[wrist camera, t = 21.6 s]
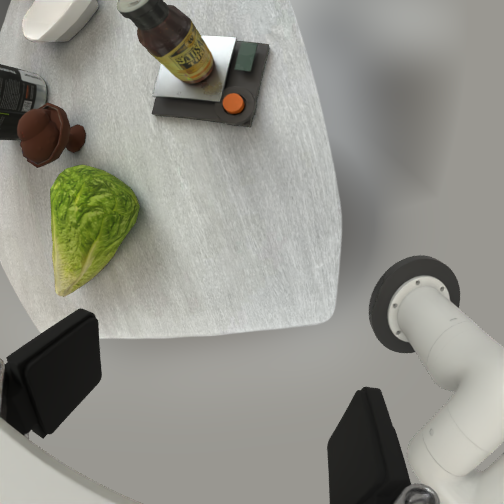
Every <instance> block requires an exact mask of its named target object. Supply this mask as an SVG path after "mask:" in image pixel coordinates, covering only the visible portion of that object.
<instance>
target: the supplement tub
mask: <svg viewBox="0 0 504 504" xmlns="http://www.w3.org/2000/svg"><path fill="white" fill-rule="evenodd" d="M46 96H47V90H46V85H45V82H44V80H43V79H42V77H41V76H39V75H37V74H35V73H31V72H28V71H24V70H21V69H17V68H13V67H9V66H5V65H1V64H0V140H21V139H19V137H18V134H17V126H18V122H19V120H20V119H21V117H22V116H23V115H24V114H25V113H26V112H28V111H29V110H32V109H38V108H40V107H41V106H43V105H45V103H46Z"/></svg>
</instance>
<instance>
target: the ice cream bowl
mask: <svg viewBox="0 0 504 504" xmlns="http://www.w3.org/2000/svg"><path fill="white" fill-rule="evenodd" d="M17 134H18V137H19V139H21V143H20V145H21V148H22V153H23V156H24V157H25V158H27V161H28V162H29V163H31V164H32V165H34V166H35V167H37V168H38V167H42V166H44V165H46V164H48V163H51V162H53V161H55V160H56V159H58V158H59V157H60V155H61V154H62V152H63V150H64V149H65V147H66V149H67V150H69V151H71V152H73V153H74V152H77V151H79V150H80V149H81V148H82V146H83V145H84V143H85V137H86V133H85V130H84V127H83V126H80V125H75V126H73V127H71V128H70V124H69V121H68V118H67V114H66V112H65V111H64V110H63V109H62V108H60V107H58V106H55V105H53V104H50V103H46V104H45V105H43V106H41V107H40V108H38V109H32V110H29V111H28V112H26V113H25V114H24V115H23V116H22V117H21V119H20V120H19V122H18V126H17Z"/></svg>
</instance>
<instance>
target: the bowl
mask: <svg viewBox="0 0 504 504" xmlns="http://www.w3.org/2000/svg"><path fill="white" fill-rule="evenodd" d="M97 9H98V3H97V0H35V1H34V3H33V4H32V5H31V7H30V8H29V10H28V11H27V13H26V15H25V16H24V18H23V20H22V30H23V33H24V36H25V38H27V39H28V40H30V41H31V42H60V41H64V42H67V41H69V40H70V39H71V38H72V37H74V36H75V35H76V34H77V33H78V32H79V31H80V30H81V29H82V28H83V27H84V26H85V25H86V23H87V22H88V21H89V20H90V18H91V17H92V16H93V14H94V13H95V12H96V10H97Z"/></svg>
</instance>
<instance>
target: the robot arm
mask: <svg viewBox="0 0 504 504" xmlns="http://www.w3.org/2000/svg"><path fill="white" fill-rule="evenodd" d="M416 281H417V282H416ZM393 304H394V305H393ZM387 319H388V324H389V327H390V329H391V331H392V332H393V334H394V335H395V336H396V337H397V338H399V339H400V340H403V341H405V342H409V343H410V344H411V346H412V347H413V349H414V350H415V352H416V354H417V355H418V357H419V358H420V360H421V362H422V363H423V365H424V367H425V368H426V370H427V372H428V373H429V375H430V376H431V378H432V380H433V381H434V382H435V383H436V384H437V385H438V386H439V387H441V388H443V389H445V390H449V391H455V393H454V394H453V395H452V396H451V397H450V399H449V400H448V401H447V403H446V404H445V405H444V406H443V407H442V408H441V409H440V410H439V411H438V412H437V413H436V414H435V415H434V416H433V418H431V419H430V420H429V421H428V422H427V423H426V424H425V425H424V426H423V427H422V428H421V429H420V430H419V431H418V433H416V434H415V436H414V437H413V438H412V439H411V441H410V443H409V445H408V448H407V458H408V462H409V465H410V467H411V469H412V470H413V472H414V474H415V475H416V477H417V478H418V479H419V481H420V482H421V483H422V484H412V485H411V483H410V479H409V475H408V471H407V468H406V464H405V461H404V458H403V454H402V451H401V447H400V444H399V441H398V438H397V434H396V431H395V429H394V427H393V426H392V422H391V419H390V417H389V413H388V410H387V407H386V404H385V401H384V398H383V395H382V392H381V390H380V389H378V388H370V387H363V388H362V390H358V391H357V392H356V393H355V395H354V397H353V399H352V401H351V403H350V404H349V406H348V408H347V410H346V412H345V413H344V415H343V417H342V419H341V420H340V422H339V424H338V426H337V427H336V429H335V431H334V432H333V434H332V436H331V438H330V439H329V442H328V446H327V450H328V468H329V493H330V504H504V453H503V454H502V455H501V456H500V457H499V458H498V459H497V460H496V461H495V462H493V464H491V465H490V466H489V467H488V468H487V469H485V470H484V471H478V470H476V469H474V468H475V467H477V466H478V465H479V464H480V463H481V462H482V461H483V460H485V459H486V458H487V457H488V456H489V455H490V454H491V453H492V452H493V451H495V450H496V449H497V448H498V447H499V446H500V444H502V443H503V442H504V347H503V346H502V345H501V344H499V343H498V342H496V341H495V340H494V339H492V338H491V337H490V336H489V335H488V334H487V333H486V332H484V331H483V330H482V329H481V328H480V327H479V326H478V325H477V324H476V323H474V322H473V321H472V320H471V319H470V318H469V317H468V316H467V315H466V314H464V313H463V312H462V311H461V310H460V309H459V308H458V307H457V306H455V305H454V304H453V303H452V302H451V301H450V297H449V293H448V290H447V288H446V287H445V285H444V284H443V283H442V282H441V281H440V280H438V279H436V278H435V277H432V276H424V275H423V276H417V277H414V278H412V279H410V280H408V281H407V282H405V283H404V284H403V285H402V286H400V287H399V289H398V290H397V291H396V292H395V294H394V295H393V297H392V299H391V301H390V303H389V307H388V312H387ZM7 361H8V363H6V364H4V362H3V361H2V360H1V359H0V504H143V503H140V502H138V501H135V500H133V499H130V498H128V497H126V496H124V495H122V494H119V493H117V492H115V491H113V490H111V489H109V488H107V487H105V486H103V485H101V484H99V483H97V482H95V481H93V480H92V479H90V478H88V477H86V476H84V475H82V474H81V473H79V472H77V471H75V470H73V469H72V468H70V467H69V466H67V465H66V464H64V463H62V462H61V461H59V460H57V459H56V458H55V457H53V456H52V455H50V454H48V453H47V452H46V451H44V450H43V449H41V448H40V447H38V446H37V445H36V444H34V443H33V442H32V441H30V440H29V434H28V433H29V432H30V430H33V432H35V433H36V434H37V435H39V436H40V437H42V438H44V437H45V436H46V435H47V434H52V433H53V432H54V431H55V430H56V429H57V428H58V427H59V425H60V424H61V423H62V422H63V421H64V420H65V419H66V418H67V416H69V414H70V413H71V412H72V411H73V410H74V409H75V408H76V407H77V406H78V405H79V404H80V403H81V401H82V400H83V399H84V398H85V397H86V396H87V395H88V394H89V393H90V392H91V391H92V390H93V389H94V387H95V386H96V385H97V384H98V383H99V382H100V380H101V376H102V372H101V361H100V348H99V328H98V320H97V319H96V317H95V315H94V314H93V313H91V312H89V311H86V310H84V309H81V308H80V309H78V310H76V311H75V312H73V313H72V314H70V315H69V316H67V317H66V318H64V319H63V320H61V321H59V322H58V323H56V324H55V325H53V326H52V327H50V328H49V329H47V330H46V331H44V332H43V333H41V334H40V335H38V336H37V337H35V338H34V339H32V340H31V341H30V342H28V343H27V344H25V345H24V346H22V347H21V348H19V349H18V350H16V351H15V352H14V353H12V354H11V355H9V356H8V357H7Z"/></svg>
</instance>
